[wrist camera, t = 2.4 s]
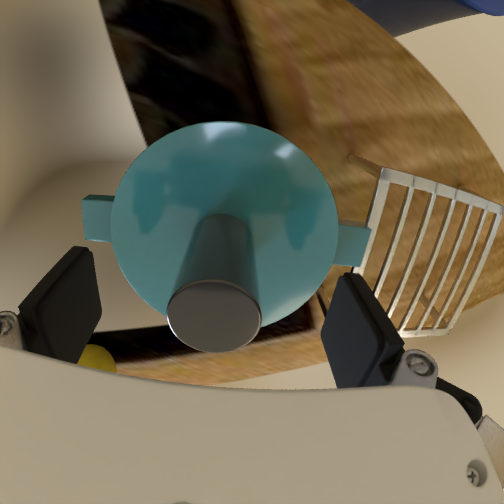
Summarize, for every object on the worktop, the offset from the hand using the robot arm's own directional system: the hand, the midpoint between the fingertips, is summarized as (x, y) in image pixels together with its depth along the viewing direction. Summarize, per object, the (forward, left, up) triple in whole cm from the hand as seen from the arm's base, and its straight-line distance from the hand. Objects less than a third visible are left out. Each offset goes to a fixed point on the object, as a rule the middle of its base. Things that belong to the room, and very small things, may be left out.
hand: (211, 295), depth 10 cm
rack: (+2, +15, -13) cm, 20 cm away
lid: (0, 0, -4) cm, 4 cm away
